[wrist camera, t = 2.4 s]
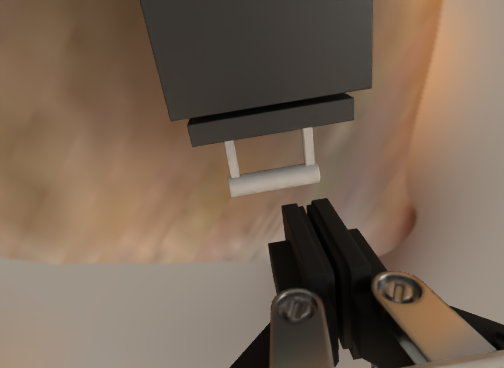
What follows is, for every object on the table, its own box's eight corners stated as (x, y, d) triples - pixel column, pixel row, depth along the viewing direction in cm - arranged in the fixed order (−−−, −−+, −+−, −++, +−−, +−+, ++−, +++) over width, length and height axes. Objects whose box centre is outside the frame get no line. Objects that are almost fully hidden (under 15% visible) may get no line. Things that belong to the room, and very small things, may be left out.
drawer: (320, 156, 27) (355, 200, 20) (213, 174, 26) (210, 225, 19) (303, -121, 19) (350, -207, 12) (155, -98, 19) (116, -172, 12)
